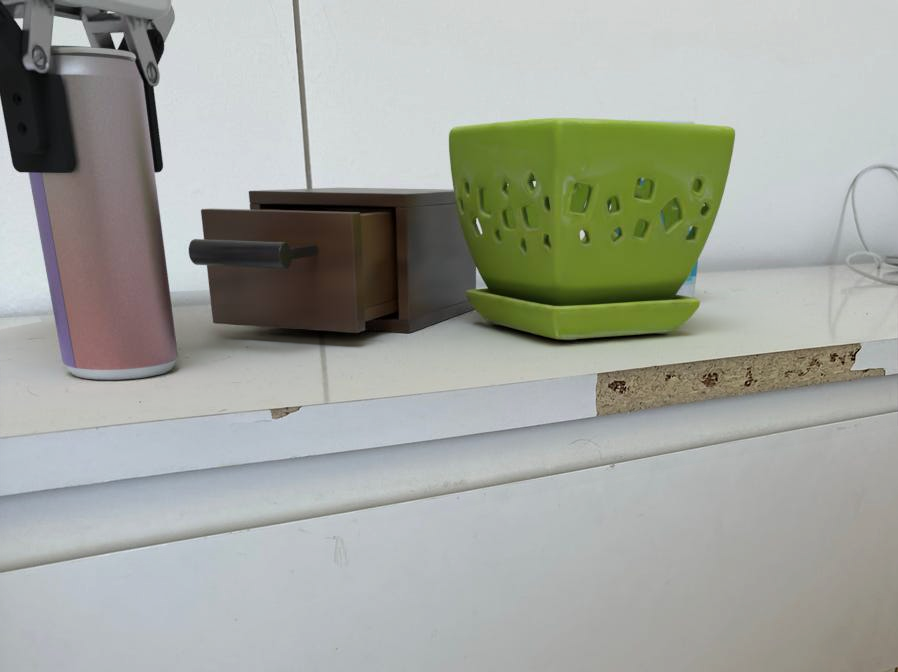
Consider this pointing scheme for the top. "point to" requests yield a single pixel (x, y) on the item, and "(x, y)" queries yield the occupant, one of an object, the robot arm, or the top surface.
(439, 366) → the top surface
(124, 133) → the beverage can
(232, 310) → the drawer
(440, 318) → the cabinet
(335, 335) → the top surface
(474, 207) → the flower pot
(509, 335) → the top surface
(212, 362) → the top surface
